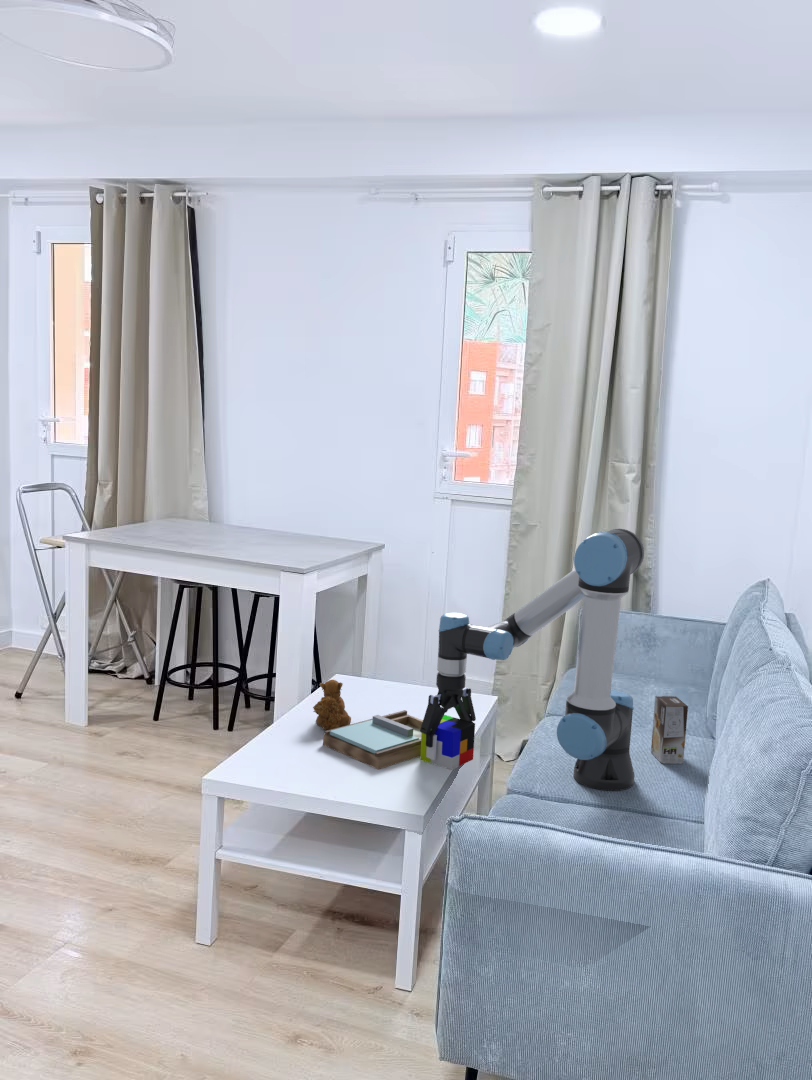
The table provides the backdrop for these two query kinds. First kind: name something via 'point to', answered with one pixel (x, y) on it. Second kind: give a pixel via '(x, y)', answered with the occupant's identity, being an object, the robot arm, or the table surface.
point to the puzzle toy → (451, 743)
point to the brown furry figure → (331, 707)
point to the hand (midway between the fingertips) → (446, 753)
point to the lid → (376, 734)
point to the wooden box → (384, 756)
